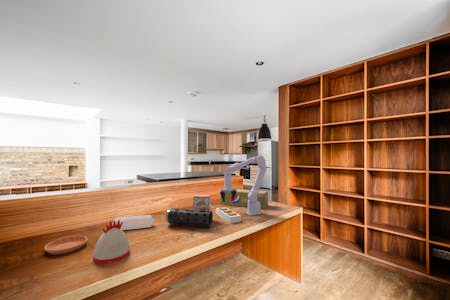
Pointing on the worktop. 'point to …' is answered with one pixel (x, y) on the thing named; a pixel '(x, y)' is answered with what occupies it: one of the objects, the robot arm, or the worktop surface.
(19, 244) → the worktop surface
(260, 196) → the soda box
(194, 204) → the candy bar box
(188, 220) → the muzzle brake
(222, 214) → the switch strip
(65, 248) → the saucer
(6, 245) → the worktop surface
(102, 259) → the kitchen timer
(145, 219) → the crystal
